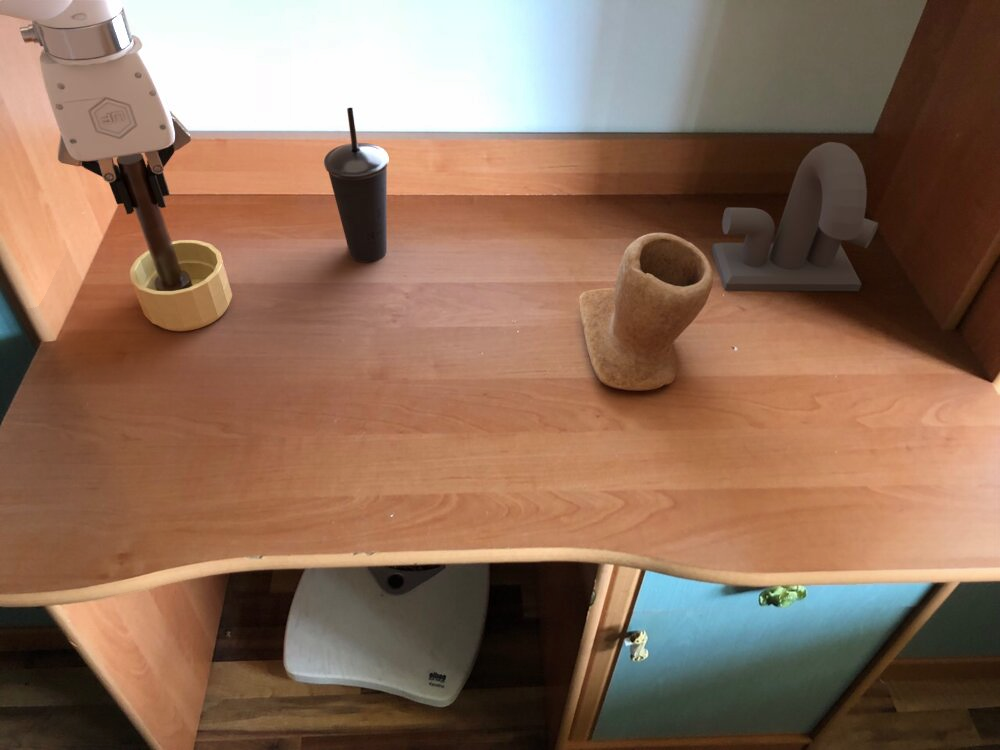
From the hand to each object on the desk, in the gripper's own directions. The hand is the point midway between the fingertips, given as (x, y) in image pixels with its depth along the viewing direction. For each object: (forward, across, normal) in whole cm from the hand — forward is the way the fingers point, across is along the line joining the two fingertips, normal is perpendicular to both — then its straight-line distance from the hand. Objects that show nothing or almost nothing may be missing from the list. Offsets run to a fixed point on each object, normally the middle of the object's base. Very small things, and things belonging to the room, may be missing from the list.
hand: (145, 202), depth 86 cm
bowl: (+15, +1, 0) cm, 15 cm away
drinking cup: (+15, +24, +3) cm, 28 cm away
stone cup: (+15, +48, -26) cm, 57 cm away
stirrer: (+13, 0, 0) cm, 13 cm away
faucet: (+15, +72, -23) cm, 77 cm away
